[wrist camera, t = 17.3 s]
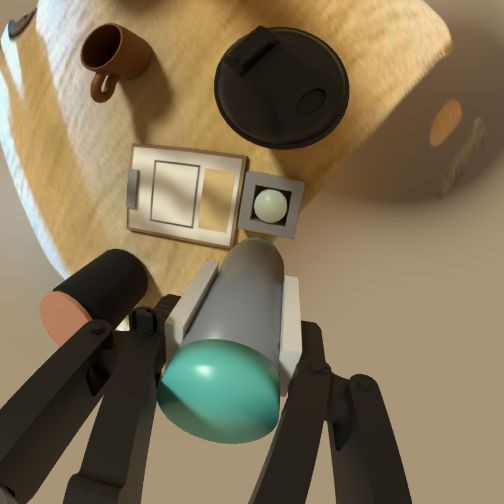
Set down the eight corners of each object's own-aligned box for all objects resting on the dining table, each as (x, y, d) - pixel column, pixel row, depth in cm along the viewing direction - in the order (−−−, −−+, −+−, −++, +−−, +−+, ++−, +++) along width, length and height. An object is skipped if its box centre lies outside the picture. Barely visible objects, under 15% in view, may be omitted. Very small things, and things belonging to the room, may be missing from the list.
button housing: (248, 170, 40) (246, 172, 38) (304, 181, 40) (305, 183, 38) (240, 223, 43) (237, 228, 41) (293, 233, 43) (293, 239, 41)
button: (259, 184, 41) (257, 187, 38) (289, 190, 41) (289, 194, 38) (254, 214, 43) (251, 219, 40) (283, 219, 42) (283, 225, 40)
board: (134, 143, 41) (129, 143, 39) (247, 156, 40) (246, 156, 38) (128, 227, 46) (124, 230, 44) (233, 248, 45) (231, 251, 43)
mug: (144, 106, 38) (111, 100, 30) (105, 107, 39) (69, 103, 30) (157, 37, 34) (129, 18, 25) (118, 41, 34) (86, 27, 26)
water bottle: (284, 163, 40) (282, 183, 18) (232, 114, 38) (171, 82, 16) (335, 115, 36) (390, 83, 15) (282, 66, 35) (276, -14, 13)
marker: (233, 226, 21) (156, 351, 8) (291, 240, 21) (295, 386, 8) (223, 278, 23) (157, 425, 10) (277, 291, 23) (262, 451, 10)
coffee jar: (99, 288, 51) (44, 339, 34) (103, 238, 47) (35, 281, 30) (146, 308, 51) (98, 370, 34) (154, 257, 47) (96, 313, 30)
